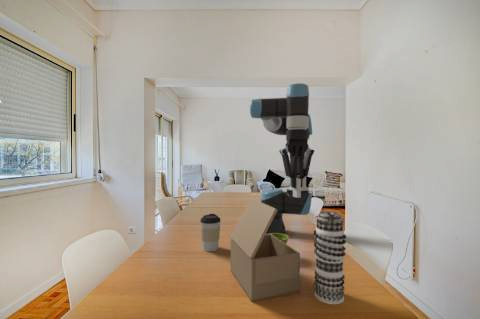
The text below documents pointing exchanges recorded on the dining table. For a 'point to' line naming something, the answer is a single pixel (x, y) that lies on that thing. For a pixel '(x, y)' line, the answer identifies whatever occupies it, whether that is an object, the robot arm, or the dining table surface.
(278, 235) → the plant pot
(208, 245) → the coffee cup
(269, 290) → the carton
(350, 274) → the dining table surface
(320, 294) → the decorative candle
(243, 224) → the flap
